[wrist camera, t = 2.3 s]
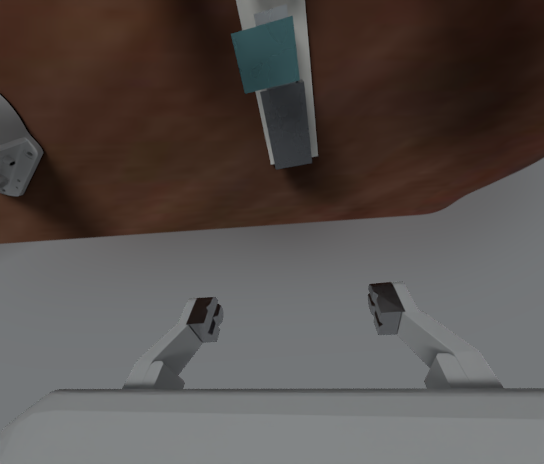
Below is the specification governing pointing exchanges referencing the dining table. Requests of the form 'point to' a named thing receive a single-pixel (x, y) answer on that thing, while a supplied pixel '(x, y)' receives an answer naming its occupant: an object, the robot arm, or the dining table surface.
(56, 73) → the dining table surface
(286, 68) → the teal oblong box
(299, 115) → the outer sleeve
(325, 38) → the dining table surface
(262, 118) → the base board
